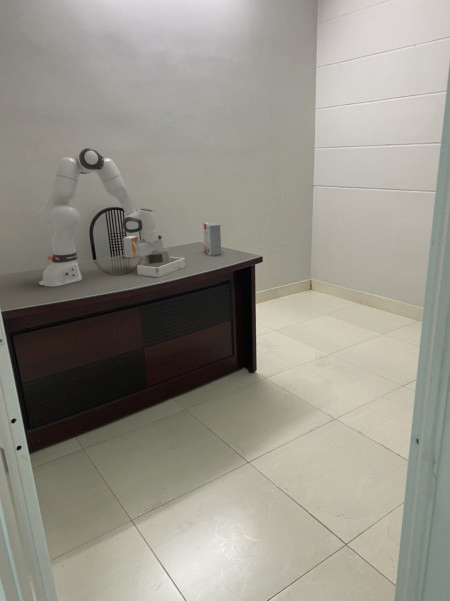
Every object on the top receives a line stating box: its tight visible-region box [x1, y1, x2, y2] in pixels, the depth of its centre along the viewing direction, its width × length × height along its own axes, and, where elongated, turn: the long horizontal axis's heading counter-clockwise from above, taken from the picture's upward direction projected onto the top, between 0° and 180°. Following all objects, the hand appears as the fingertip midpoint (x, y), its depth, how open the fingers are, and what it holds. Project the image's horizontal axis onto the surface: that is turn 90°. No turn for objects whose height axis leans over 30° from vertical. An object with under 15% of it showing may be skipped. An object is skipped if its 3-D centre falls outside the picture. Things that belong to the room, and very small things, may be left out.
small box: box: [122, 235, 139, 259], centre depth 277 cm, size 8×6×13 cm
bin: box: [136, 256, 187, 278], centre depth 240 cm, size 26×14×5 cm, turn 150°
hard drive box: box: [202, 221, 222, 256], centre depth 280 cm, size 16×8×20 cm, turn 17°
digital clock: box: [142, 248, 171, 267], centre depth 243 cm, size 16×9×11 cm, turn 102°
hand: (150, 261), depth 244 cm, fingers open, 8 cm apart
